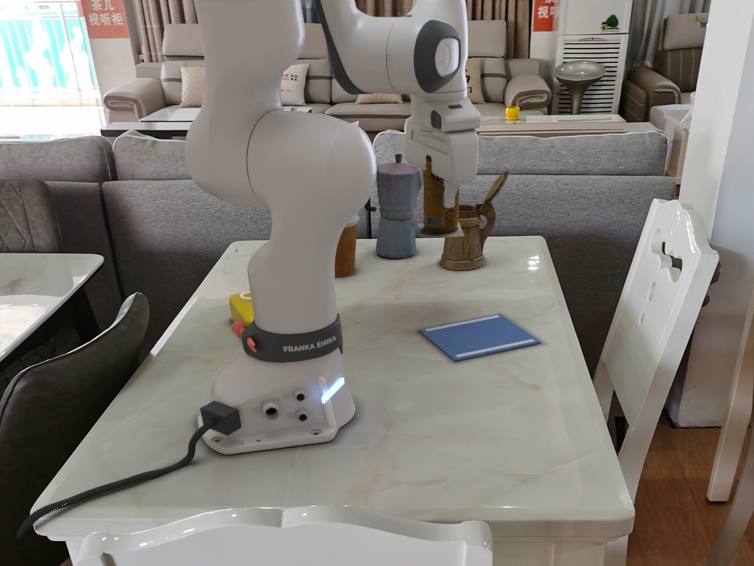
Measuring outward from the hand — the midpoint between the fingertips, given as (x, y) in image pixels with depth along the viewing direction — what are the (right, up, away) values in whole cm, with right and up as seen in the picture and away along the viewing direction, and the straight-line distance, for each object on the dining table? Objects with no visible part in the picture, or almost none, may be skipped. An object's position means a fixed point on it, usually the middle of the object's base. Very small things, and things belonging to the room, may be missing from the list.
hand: (438, 201), depth 132 cm
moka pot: (-8, +5, +39) cm, 40 cm away
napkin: (+7, -23, +1) cm, 24 cm away
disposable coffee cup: (-19, -2, +30) cm, 36 cm away
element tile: (-28, -19, +8) cm, 35 cm away
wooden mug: (+9, +1, +32) cm, 34 cm away
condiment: (0, -4, +2) cm, 5 cm away
